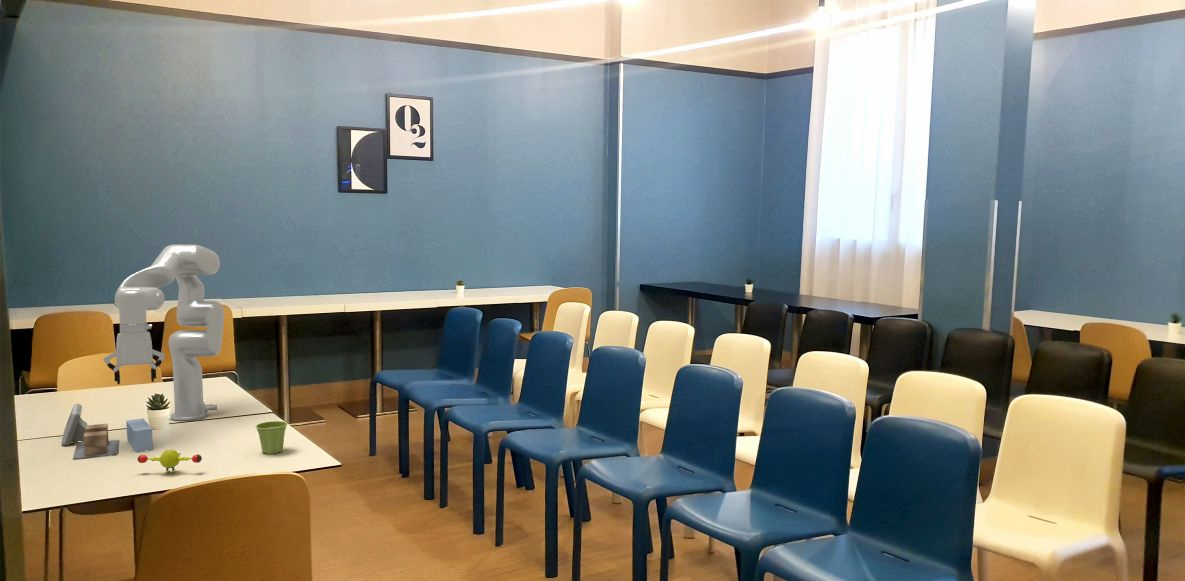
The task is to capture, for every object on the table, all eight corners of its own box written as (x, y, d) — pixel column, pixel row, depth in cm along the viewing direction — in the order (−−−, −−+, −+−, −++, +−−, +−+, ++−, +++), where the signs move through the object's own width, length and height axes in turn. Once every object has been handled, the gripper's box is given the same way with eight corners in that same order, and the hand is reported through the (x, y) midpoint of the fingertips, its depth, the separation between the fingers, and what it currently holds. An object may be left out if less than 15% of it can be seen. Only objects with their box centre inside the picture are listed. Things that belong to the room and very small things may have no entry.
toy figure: (206, 469, 258) (205, 447, 258) (198, 475, 253) (197, 452, 252) (143, 470, 258) (142, 447, 257) (134, 475, 252) (133, 452, 251)
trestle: (119, 440, 289) (118, 421, 288) (117, 454, 273) (116, 434, 272) (76, 445, 283) (75, 425, 283) (72, 459, 267) (71, 439, 267)
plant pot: (254, 457, 271) (254, 429, 270) (257, 448, 280) (257, 421, 279) (287, 454, 274) (286, 427, 273) (289, 446, 283) (288, 420, 282)
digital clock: (65, 434, 296) (63, 403, 295) (95, 432, 299) (94, 401, 298) (51, 447, 281) (49, 414, 280) (83, 445, 283) (81, 412, 282)
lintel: (144, 439, 291) (143, 418, 291) (152, 450, 278) (151, 428, 278) (127, 441, 289) (126, 420, 288) (135, 453, 276) (134, 431, 275)
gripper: (163, 325, 287) (165, 378, 289) (102, 329, 279) (105, 382, 281) (163, 328, 280) (166, 382, 282) (101, 332, 273) (104, 386, 274)
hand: (135, 382), depth 281 cm, fingers open, 9 cm apart
